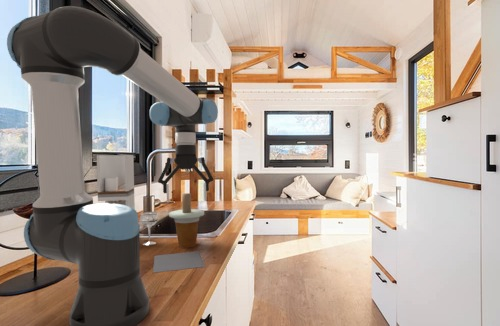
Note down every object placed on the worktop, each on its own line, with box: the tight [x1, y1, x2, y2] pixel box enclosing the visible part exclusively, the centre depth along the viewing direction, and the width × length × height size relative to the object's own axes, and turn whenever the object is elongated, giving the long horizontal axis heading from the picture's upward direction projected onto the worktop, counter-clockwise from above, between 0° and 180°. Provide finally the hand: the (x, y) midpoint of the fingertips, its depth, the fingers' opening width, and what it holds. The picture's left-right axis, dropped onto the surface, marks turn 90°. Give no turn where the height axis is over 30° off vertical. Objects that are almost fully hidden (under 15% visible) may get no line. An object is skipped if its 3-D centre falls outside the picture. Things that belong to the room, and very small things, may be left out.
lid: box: [168, 192, 205, 219], centre depth 108 cm, size 13×13×8 cm
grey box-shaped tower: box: [96, 154, 136, 210], centre depth 113 cm, size 11×11×35 cm
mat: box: [152, 250, 206, 274], centre depth 91 cm, size 15×15×1 cm
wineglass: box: [139, 211, 159, 246], centre depth 112 cm, size 7×7×12 cm
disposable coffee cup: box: [173, 216, 201, 249], centre depth 108 cm, size 10×10×12 cm
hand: (186, 201), depth 108 cm, fingers open, 13 cm apart
